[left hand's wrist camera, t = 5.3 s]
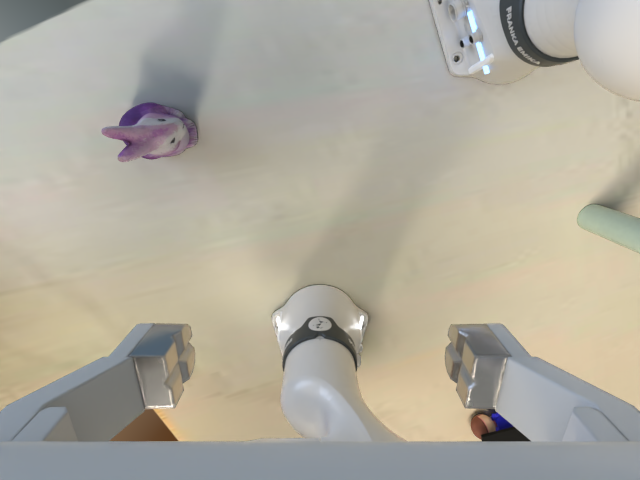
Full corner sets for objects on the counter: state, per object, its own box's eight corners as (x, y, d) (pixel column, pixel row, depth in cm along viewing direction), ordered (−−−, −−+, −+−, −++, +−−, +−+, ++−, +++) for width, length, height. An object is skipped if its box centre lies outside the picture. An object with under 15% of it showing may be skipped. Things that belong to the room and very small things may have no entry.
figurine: (213, 128, 54) (175, 134, 40) (173, 173, 56) (124, 193, 42) (165, 81, 51) (107, 69, 37) (126, 129, 54) (58, 135, 40)
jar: (609, 213, 59) (696, 243, 45) (588, 234, 60) (666, 269, 47) (592, 198, 58) (675, 225, 44) (571, 219, 59) (646, 251, 46)
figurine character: (528, 388, 74) (464, 410, 74) (555, 416, 67) (483, 440, 67) (531, 411, 77) (468, 431, 77) (557, 440, 69) (488, 463, 69)
